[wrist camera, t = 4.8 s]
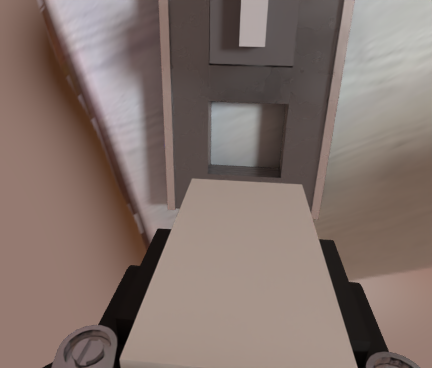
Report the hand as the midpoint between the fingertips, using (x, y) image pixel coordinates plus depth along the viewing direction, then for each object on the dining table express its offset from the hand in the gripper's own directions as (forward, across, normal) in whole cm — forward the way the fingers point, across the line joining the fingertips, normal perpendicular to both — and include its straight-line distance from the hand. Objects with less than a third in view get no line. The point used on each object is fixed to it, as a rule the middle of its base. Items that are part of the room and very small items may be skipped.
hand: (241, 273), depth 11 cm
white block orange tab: (+3, 0, 0) cm, 3 cm away
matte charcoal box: (+17, 0, -8) cm, 19 cm away
